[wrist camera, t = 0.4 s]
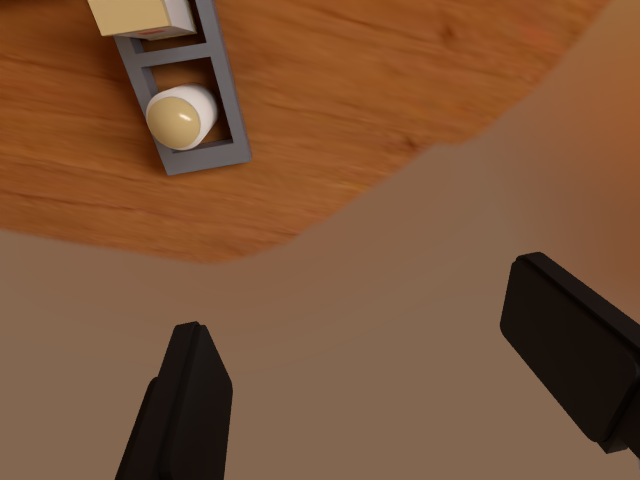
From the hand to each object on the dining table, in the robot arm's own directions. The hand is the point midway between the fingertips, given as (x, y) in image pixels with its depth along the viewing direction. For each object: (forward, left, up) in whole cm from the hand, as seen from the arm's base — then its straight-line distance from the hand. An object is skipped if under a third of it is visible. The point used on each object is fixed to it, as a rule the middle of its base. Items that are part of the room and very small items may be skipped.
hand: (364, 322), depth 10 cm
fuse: (-12, -9, -29) cm, 32 cm away
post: (-4, -9, -29) cm, 30 cm away
